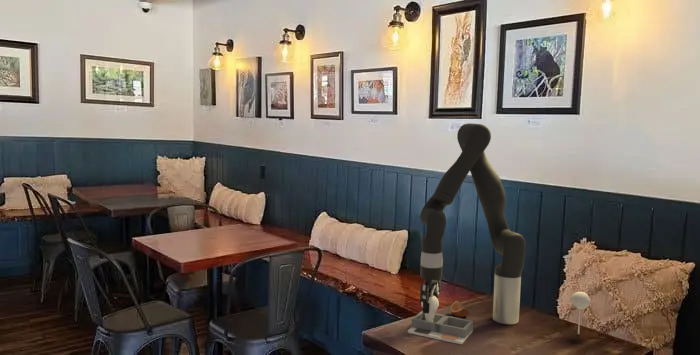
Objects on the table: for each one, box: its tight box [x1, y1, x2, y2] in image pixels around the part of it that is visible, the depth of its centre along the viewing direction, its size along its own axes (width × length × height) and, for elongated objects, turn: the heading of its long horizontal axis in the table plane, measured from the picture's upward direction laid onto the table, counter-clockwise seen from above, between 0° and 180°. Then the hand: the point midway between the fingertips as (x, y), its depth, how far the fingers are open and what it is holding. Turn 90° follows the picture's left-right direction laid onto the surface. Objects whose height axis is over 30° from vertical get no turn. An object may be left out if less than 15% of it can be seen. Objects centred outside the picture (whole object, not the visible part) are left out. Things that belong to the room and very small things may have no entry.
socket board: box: [407, 310, 474, 345], centre depth 188 cm, size 13×19×4 cm
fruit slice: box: [449, 299, 469, 318], centre depth 203 cm, size 8×7×5 cm
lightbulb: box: [421, 295, 440, 322], centre depth 191 cm, size 6×6×11 cm
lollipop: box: [570, 291, 591, 335], centre depth 188 cm, size 6×6×15 cm
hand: (430, 309), depth 191 cm, fingers open, 8 cm apart
